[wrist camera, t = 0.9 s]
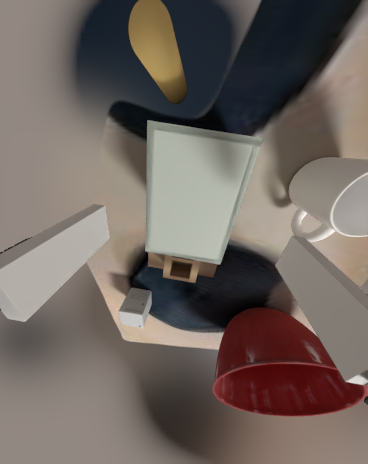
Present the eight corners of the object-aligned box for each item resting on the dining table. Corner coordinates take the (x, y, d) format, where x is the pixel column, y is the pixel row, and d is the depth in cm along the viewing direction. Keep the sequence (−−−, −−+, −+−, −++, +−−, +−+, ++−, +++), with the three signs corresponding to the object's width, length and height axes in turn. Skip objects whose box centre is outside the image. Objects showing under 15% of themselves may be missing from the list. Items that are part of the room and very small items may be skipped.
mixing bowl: (335, 294, 36) (413, 380, 23) (290, 351, 50) (322, 426, 37) (216, 282, 38) (224, 354, 25) (205, 340, 52) (206, 406, 39)
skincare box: (151, 290, 43) (143, 315, 36) (151, 303, 46) (143, 329, 39) (130, 286, 43) (118, 311, 36) (132, 300, 46) (120, 325, 39)
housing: (172, 132, 23) (147, 120, 12) (235, 142, 23) (263, 138, 12) (165, 214, 30) (145, 251, 19) (213, 223, 29) (220, 264, 19)
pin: (165, 71, 20) (127, -7, 10) (188, 75, 20) (174, -1, 10) (163, 102, 22) (129, 61, 12) (185, 105, 22) (170, 67, 12)
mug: (299, 231, 29) (341, 267, 20) (262, 214, 29) (290, 244, 20) (357, 170, 24) (451, 184, 15) (313, 147, 23) (385, 146, 14)
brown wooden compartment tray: (153, 128, 24) (120, 115, 14) (254, 144, 23) (291, 142, 14) (149, 263, 38) (131, 302, 28) (212, 274, 37) (216, 318, 28)
